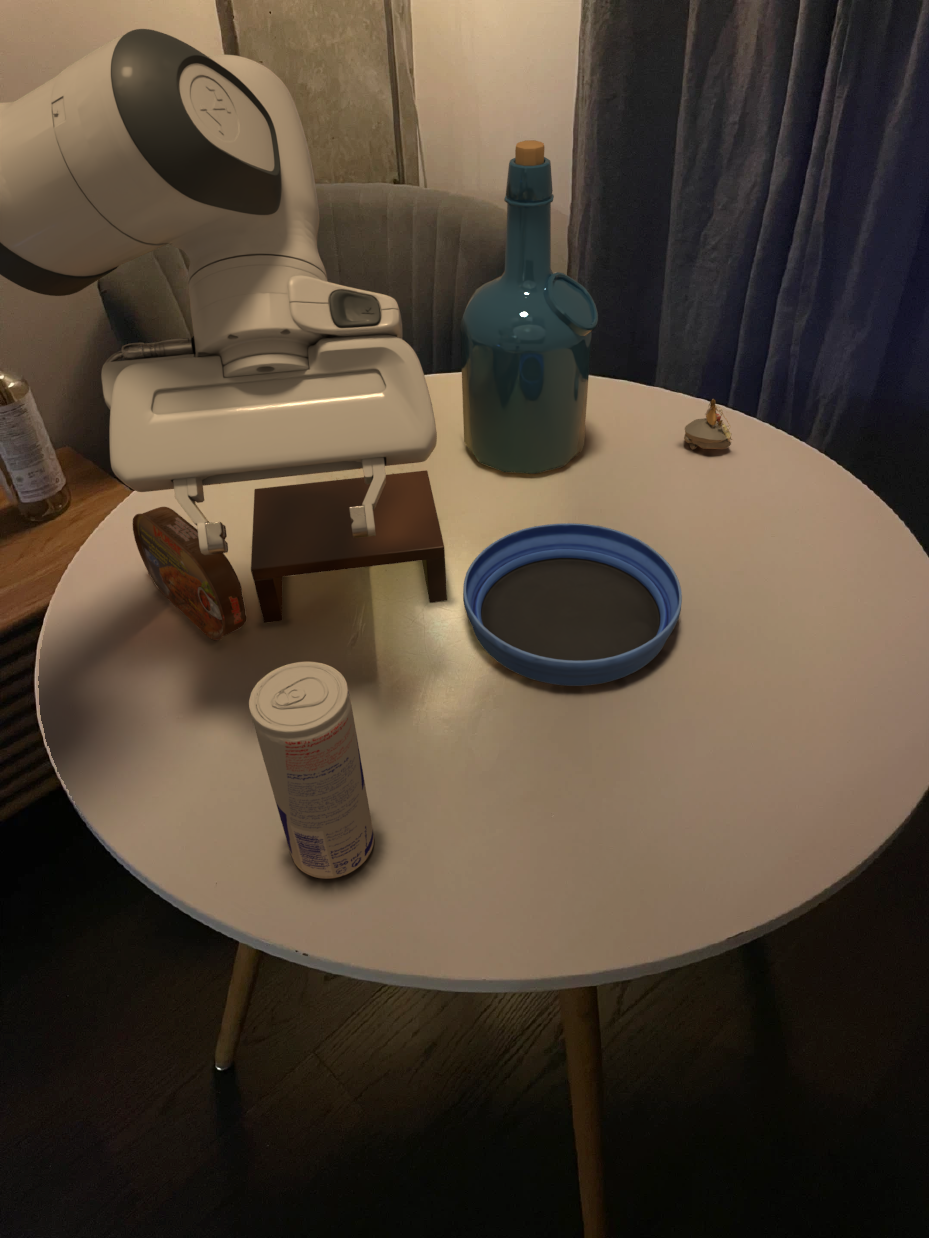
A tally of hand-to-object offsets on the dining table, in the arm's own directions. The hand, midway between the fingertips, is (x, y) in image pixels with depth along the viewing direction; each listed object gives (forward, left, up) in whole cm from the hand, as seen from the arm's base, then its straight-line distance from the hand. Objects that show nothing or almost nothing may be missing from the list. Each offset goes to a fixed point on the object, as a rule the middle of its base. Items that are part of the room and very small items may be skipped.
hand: (290, 544), depth 56 cm
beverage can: (0, -11, -17) cm, 21 cm away
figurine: (+42, +33, -17) cm, 56 cm away
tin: (-11, +16, -17) cm, 26 cm away
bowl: (+21, +9, -17) cm, 29 cm away
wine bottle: (+23, +37, -17) cm, 47 cm away
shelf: (+3, +19, -17) cm, 26 cm away
